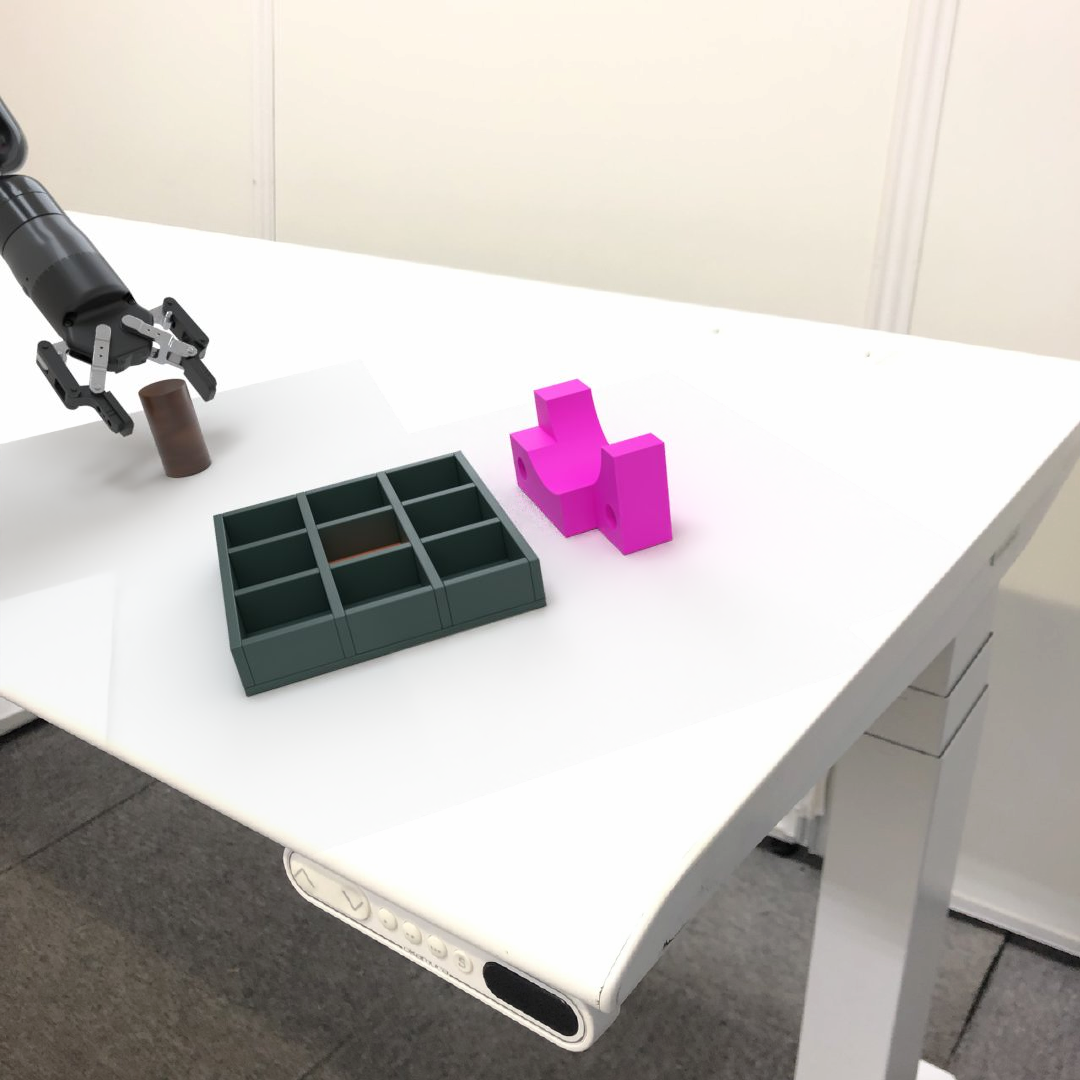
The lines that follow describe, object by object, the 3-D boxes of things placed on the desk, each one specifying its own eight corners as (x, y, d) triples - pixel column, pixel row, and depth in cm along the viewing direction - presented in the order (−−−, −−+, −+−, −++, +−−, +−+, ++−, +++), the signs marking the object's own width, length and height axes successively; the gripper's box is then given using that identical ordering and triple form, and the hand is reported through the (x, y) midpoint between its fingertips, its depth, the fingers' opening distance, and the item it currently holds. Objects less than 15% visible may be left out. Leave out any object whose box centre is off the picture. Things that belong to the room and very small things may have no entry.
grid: (246, 697, 63) (229, 649, 61) (226, 556, 80) (212, 515, 78) (547, 605, 67) (539, 558, 66) (468, 490, 84) (460, 450, 82)
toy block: (517, 484, 84) (503, 398, 80) (588, 464, 85) (577, 378, 81) (591, 565, 71) (578, 467, 67) (672, 539, 73) (664, 442, 69)
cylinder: (166, 481, 94) (137, 400, 90) (165, 464, 98) (138, 385, 94) (212, 469, 95) (186, 388, 91) (210, 453, 98) (184, 374, 95)
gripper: (-7, 274, 88) (105, 420, 86) (141, 230, 96) (245, 362, 95) (-9, 328, 94) (96, 465, 92) (132, 281, 102) (229, 406, 101)
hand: (172, 413), depth 93 cm, fingers open, 8 cm apart
